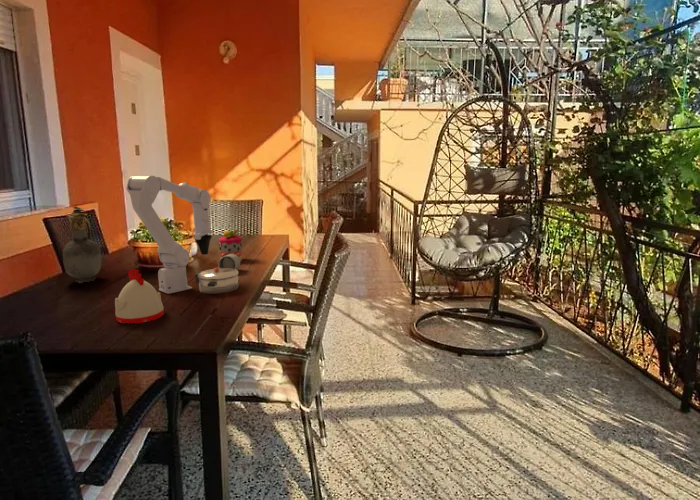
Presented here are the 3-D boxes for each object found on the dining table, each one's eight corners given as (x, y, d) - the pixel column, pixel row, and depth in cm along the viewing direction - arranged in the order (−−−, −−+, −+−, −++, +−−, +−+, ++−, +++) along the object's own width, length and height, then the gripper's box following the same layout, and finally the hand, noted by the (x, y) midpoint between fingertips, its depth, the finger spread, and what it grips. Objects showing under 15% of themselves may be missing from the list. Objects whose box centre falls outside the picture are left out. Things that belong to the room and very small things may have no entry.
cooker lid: (191, 280, 172) (190, 275, 171) (202, 270, 186) (202, 265, 186) (233, 279, 172) (233, 274, 171) (242, 269, 186) (241, 264, 186)
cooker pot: (189, 296, 170) (188, 282, 169) (205, 281, 190) (204, 269, 189) (231, 295, 170) (230, 282, 169) (243, 280, 190) (242, 268, 189)
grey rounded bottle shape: (63, 286, 186) (52, 209, 180) (81, 274, 205) (71, 204, 199) (93, 285, 188) (83, 208, 182) (108, 273, 206) (100, 203, 200)
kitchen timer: (150, 306, 160) (145, 262, 157) (172, 314, 152) (168, 268, 149) (107, 317, 150) (101, 270, 147) (129, 327, 141) (123, 277, 138)
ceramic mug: (242, 269, 209) (240, 251, 207) (236, 274, 201) (234, 256, 199) (218, 269, 210) (216, 252, 208) (211, 274, 202) (209, 256, 200)
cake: (215, 262, 223) (213, 230, 220) (227, 257, 233) (225, 227, 230) (235, 263, 220) (233, 231, 217) (247, 258, 230) (245, 227, 227)
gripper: (206, 222, 181) (209, 258, 184) (216, 217, 195) (219, 249, 198) (187, 223, 181) (191, 258, 184) (199, 217, 195) (202, 250, 198)
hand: (204, 254), depth 191 cm, fingers closed
